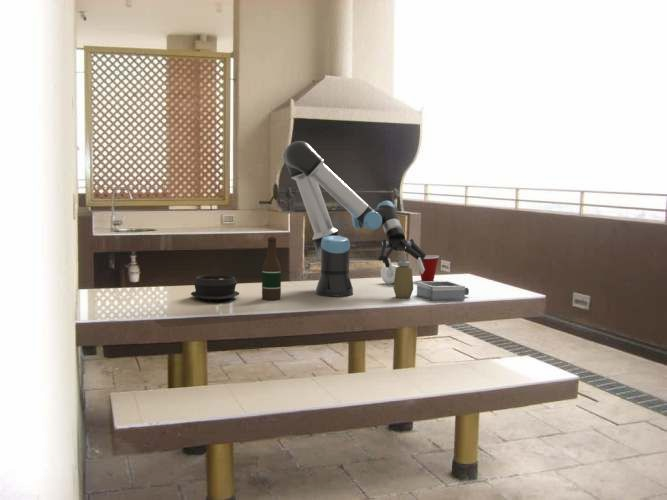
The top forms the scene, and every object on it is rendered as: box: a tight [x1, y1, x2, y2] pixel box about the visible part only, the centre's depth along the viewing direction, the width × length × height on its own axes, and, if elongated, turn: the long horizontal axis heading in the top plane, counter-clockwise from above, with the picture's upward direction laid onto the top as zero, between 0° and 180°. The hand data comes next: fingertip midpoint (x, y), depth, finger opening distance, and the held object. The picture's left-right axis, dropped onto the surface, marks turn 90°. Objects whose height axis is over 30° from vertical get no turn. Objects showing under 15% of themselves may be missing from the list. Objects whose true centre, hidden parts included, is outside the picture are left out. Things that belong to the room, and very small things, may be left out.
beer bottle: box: [261, 236, 282, 301], centre depth 261 cm, size 8×8×24 cm
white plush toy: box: [380, 263, 399, 285], centre depth 312 cm, size 11×12×9 cm
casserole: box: [190, 274, 240, 302], centre depth 260 cm, size 25×19×8 cm
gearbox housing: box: [416, 280, 470, 302], centre depth 274 cm, size 19×15×6 cm
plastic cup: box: [419, 254, 440, 282], centre depth 324 cm, size 11×11×12 cm
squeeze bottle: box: [393, 252, 414, 299], centre depth 271 cm, size 8×8×18 cm
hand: (407, 272), depth 273 cm, fingers open, 13 cm apart
